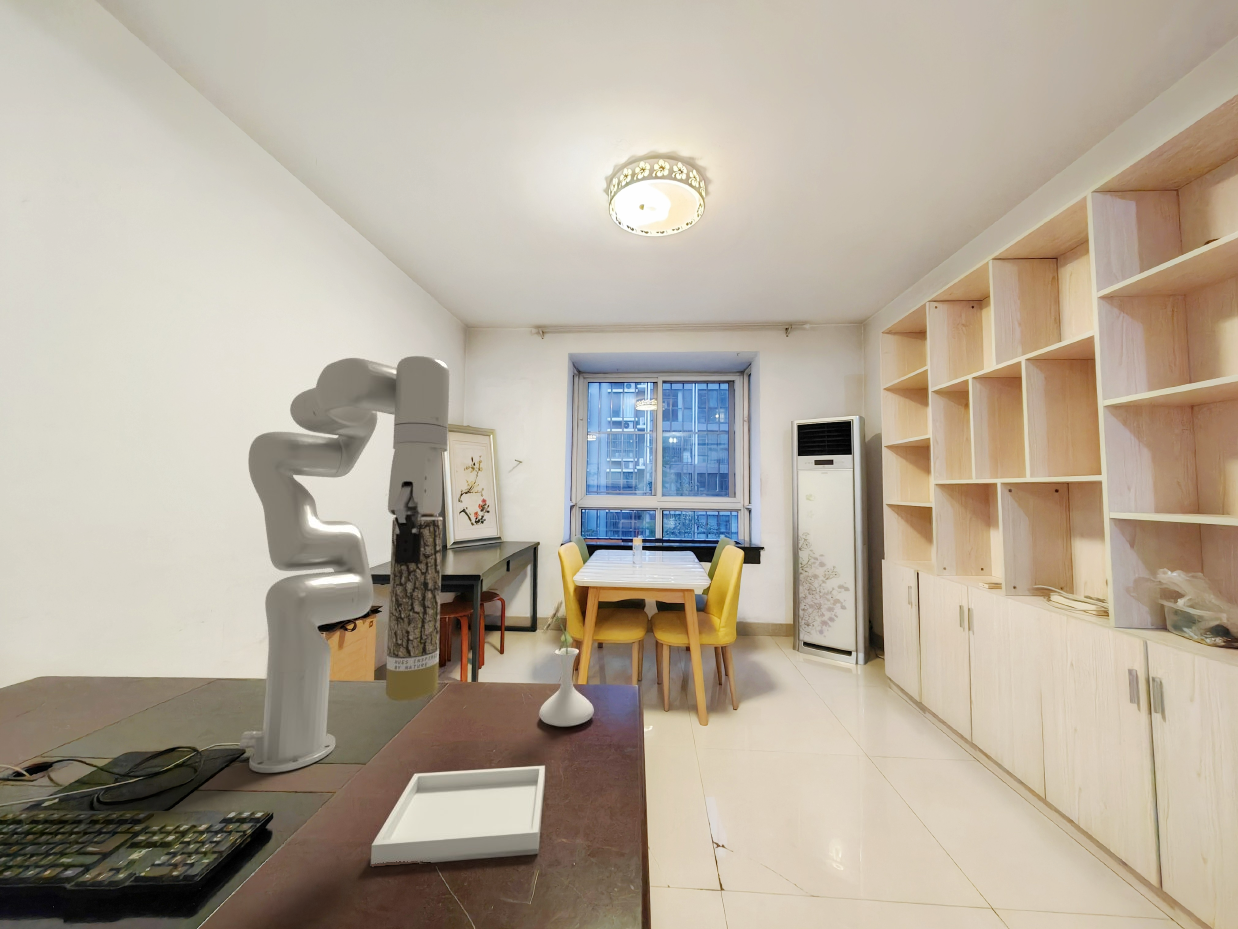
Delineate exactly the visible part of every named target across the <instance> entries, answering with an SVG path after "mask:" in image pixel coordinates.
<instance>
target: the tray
mask: <svg viewBox="0 0 1238 929" xmlns="http://www.w3.org/2000/svg"><path fill="white" fill-rule="evenodd" d="M545 778H546V765H534V766H531V765H530V766H519V767H504V768H503V767H501V768H500V767H499V768H485V769H484V768H483V769H469V770H451V771H439V772H421V773H419V772H418V773H414V774H413V776H412V777H411V779H410V780H409V782H408V784H407V785H406V788H405V789H404V791H403V792H402V794H401V796H400V797H399V799H398V801H397V802H396V804H395V806H394V808H393V809H392V810H391V812H390V814H389V816H388V817H387V818H386V821H385V822H384V824H383V825H382V827H381V829H380V831H379V832H378V834H377V835H376V837H375V839H374V841H373V842H372V844H371V851H370V853H371V854H370V865H371V864H375V863H376V864H377V863H383V862H384V863H386V862H396V861H397V862H399V861H401V862H403V861H405V862H407V861H408V862H411V861H418V862H420V861H423V862H431V863H440V862H441V863H442V862H443V863H444V862H454V861H455V862H456V861H467V860H478V859H479V860H481V859H490V858H491V859H492V858H503V857H514V856H517V857H518V856H527V855H538V854H539V849H540V848H539V847H540V839H541V837H540V836H541V827H542V815H543V804H544V794H545V786H546V785H545V783H546V782H545V780H546V779H545Z"/></svg>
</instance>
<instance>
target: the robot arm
mask: <svg viewBox="0 0 1238 929" xmlns="http://www.w3.org/2000/svg"><path fill="white" fill-rule="evenodd" d="M316 381H317V382H316V385H315V387H312V388H309V389H306V390H304V391H302V392H300V393H298V395H295V397H294V398H293V400H292V401H291V404H290V409H289V411H290V412H289V413H290V416H291V418H292V420H293V421H294V422H295V424H296V425H298V426H299V428H302V429H304V430H305V431H308V432H312V433H316V434H323V435H331V436H337V437H331V436H322V435H315V434H309V433H308V434H307V433H302V432H301V433H300V432H291V431H270V432H269V431H268V432H265V433H261V434H260V435H258V436H256V437H255V438H254V439H253V441H252V442H251V444H250V447H249V451H248V473H249V477H250V479H251V483H252V485H253V487H254V490H255V492H256V494H257V495H258V498H259V501H260V503H261V505H262V508H263V514H264V516H263V517H264V523H265V529H266V530H265V532H266V540H267V547H268V554H269V558H270V561H271V563H272V566H273V567H274V568H275V569H276V570H279V571H283V572H300V571H313V570H314V571H315V570H325V569H332V570H333V571H327V572H313V573H305V574H302V573H301V574H296V575H291V576H287V577H284V578H282V579H279V580H278V581H276V582H275V583H273V584H272V585H271V586H270V588H269V589H268V590H267V593H266V596H265V604H264V605H265V608H264V609H265V615H266V616H265V617H266V623H267V624H266V625H267V632H268V635H267V636H268V647H267V648H268V652H267V654H268V655H267V665H266V666H267V668H266V681H265V682H266V685H265V696H264V698H265V699H264V711H263V713H264V715H263V723H262V724H263V726H262V730H261V731H257V730H254V731H249V730H248V731H244V732H243V733H242V735H241V737H240V742H239V745H238V747H239V749H241V750H242V749H249V748H250V749H251V748H253V750H254V752H253V753H252V754H251V756H250V757H249V763H248V765H249V769H251V771H253V772H256V773H261V774H273V773H282V772H283V773H284V772H288V771H293V770H297V769H300V768H302V767H306V766H309V765H311V764H313V763H316V762H318V761H321V760H322V759H323V758H325V757H327V755H328V756H329V754H330V753H331V752H332V751H334V749H335V747H336V737H335V736H334V735H332V734H330V733H328V732H327V725H328V724H327V722H328V707H329V705H328V704H329V691H330V690H329V689H330V676H331V675H330V674H331V672H330V671H331V655H332V654H331V652H332V651H331V646H330V643H329V642H328V640H327V638H326V637H325V636H324V635H323V634H322V633H321V632H320V631H319V628H318V627H319V626H322V625H326V624H330V623H337V622H340V621H341V622H342V621H347V620H353V619H356V618H359V617H360V618H361V617H363V616H364V615H365V614H367V613H368V612H369V611H370V609H371V608H372V606H373V602H374V584H373V578H372V574H371V569H370V564H369V559H368V554H367V553H368V552H367V548H366V544H365V540H364V535H363V533H362V531H361V530H360V529H359V527H358V526H357V525H356V524H354V523H352V522H350V521H346V520H345V521H344V520H322V519H320V517H319V516H318V511H317V504H316V503H317V502H316V501H315V498H314V496H313V494H311V492H309V490H308V489H307V488H306V487H305V486H304V485H303V484H302V483H301V482H300V481H298V480H296V479H295V477H294V476H302V477H303V476H305V477H317V478H318V477H319V478H320V477H321V478H333V479H335V478H341V477H344V476H346V475H348V474H349V473H350V472H351V471H352V469H353V468H354V467H355V466H356V463H357V462H358V459H359V458H360V456H361V455H362V454H363V452H364V450H365V448H366V447H367V445H368V443H369V442H370V440H371V438H372V436H373V433H374V432H375V430H376V426H377V425H378V413H382V414H388V415H393V416H394V419H393V420H394V421H393V444H392V445H393V446H392V449H393V450H394V452H393V455H392V456H393V457H392V460H391V462H392V463H391V470H390V477H389V488H388V498H387V499H388V500H387V511H388V512H389V514H390V515H392V516H395V517H396V518H395V521H396V523H397V524H396V529H395V532H396V549H395V562H396V563H398V564H399V563H418V562H420V553H421V534H418V532H419V527H420V521H421V516H438V514H440V513H441V512H442V505H443V503H442V502H443V460H442V459H443V458H442V453H446V452H448V444H449V443H448V439H449V438H448V437H449V406H450V405H449V403H450V370H449V366H447V365H446V363H445V362H443V361H442V360H439V359H437V358H433V357H430V356H423V355H421V356H420V355H414V356H413V355H412V356H406V357H404V358H402V359H400V360H399V361H398V363H397V365H396V367H395V366H392V365H388V364H384V363H381V362H377V361H373V360H369V359H365V358H361V357H359V358H358V357H348V358H347V357H346V358H342V359H339V360H336V361H333V362H331V363H329V364H327V365H326V366H325V367H324V368H323V369H322V371H321V373H320V374H319V376H318V378H317V380H316ZM412 518H414V522H413V520H412Z"/></svg>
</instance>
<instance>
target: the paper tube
mask: <svg viewBox="0 0 1238 929" xmlns="http://www.w3.org/2000/svg"><path fill="white" fill-rule="evenodd" d="M392 518H393V519H392V522H391V523H392V524H391V525H392V526H391V527H392V528H391V550H390V552H391V553H390V571H389V573H390V576H389V579H390V580H389V581H390V582H389V598H388V600H389V601H388V602H389V604H388V621H387V622H388V624H387V626H388V627H387V647H386V650H387V651H386V676H385V677H386V678H385V695H386V697H387V698H388V699H389V700H392V701H396V702H407V701H408V702H410V701H415V700H420V699H424V698H426V697H429V696H430V695H432V694H433V693H435V692H436V690H437V688H438V685H439V659H440V658H439V657H440V656H439V654H440V630H441V628H440V626H441V625H440V623H441V621H440V620H441V619H440V618H441V588H442V586H441V585H442V558H443V556H442V554H443V549H442V548H443V523H444V522H443V521H444V520H443V517H442V516H438V515H437V516H421V521H420V527H419V532H418V534H421V553H420V562H418V563H399V564H398V563H396V562H395V549H396V532H395V529H396V524H397V523H396V521H395V518H396V516H393V517H392ZM412 520H413V522H414V518H412Z"/></svg>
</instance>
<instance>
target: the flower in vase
mask: <svg viewBox="0 0 1238 929" xmlns="http://www.w3.org/2000/svg"><path fill="white" fill-rule="evenodd" d="M563 600H564V599H559V600H558V602H557V605H555V607H554V609H553V612H552V615H551V616H550V617H549V618H548V619H547V622H548V623H547V624H546V625H545V626H544V628H543V629H542V636H543V635H544V636H545V635H546V634H547V633H548V632H549V631H550V630H551V628H552V626H553V625H554V623H556V622H558V624H559V626H560V628H561V630H562V633H563V634H562V635H561V637H560V641H561V644H560V646H559V648H558V649H556V650H555V651H554V654H555V655H556V656H557V658H558V660H559V664H560V665H559V666H560V670H561V675H560V676H561V679H560V680H561V683H560V687H559V689H558V690H557V691H556V692H555V693H554V694H553V695H552V696H550V697H549V698H548V699H546V701H545V702H544V703H543V704H542V705H541V707H540V708H539V712H538V716H539V717H540V719H541V721H542V722H544V723H545V724H548V725H550V726H556V727H573V726H577V725H581V724H583V723H585V722H587V721H588V720H590V719H591V718H592V716H593V715H594V712H595V710H594V706H593V703H591V702H590V700H589V699H588V698H586V697H585V696H584V695H582V694H581V693H580V692H579V691H578V690H576V688H575V687H574V684H573V668H574V667H573V666H574V663H575V659H576V656H578V655H579V652H580V651H579V649H577V648H572V647H570V645H572V643H573V642H574V641H573V639H572V636H571V635H570V633H569V632H568V630H565V628H564V626H563V623H562V622H561V620H560V618H559V614H560V611H561V609H562V606H563V603H564V601H563ZM564 646H565V648H564Z"/></svg>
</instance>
